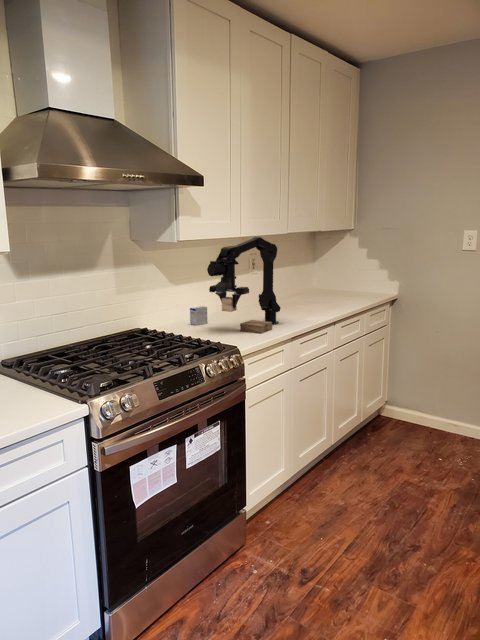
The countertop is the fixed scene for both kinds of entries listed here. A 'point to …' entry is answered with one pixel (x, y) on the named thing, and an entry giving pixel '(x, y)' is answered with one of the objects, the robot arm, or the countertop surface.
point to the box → (198, 315)
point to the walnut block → (256, 326)
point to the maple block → (228, 304)
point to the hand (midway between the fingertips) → (229, 307)
